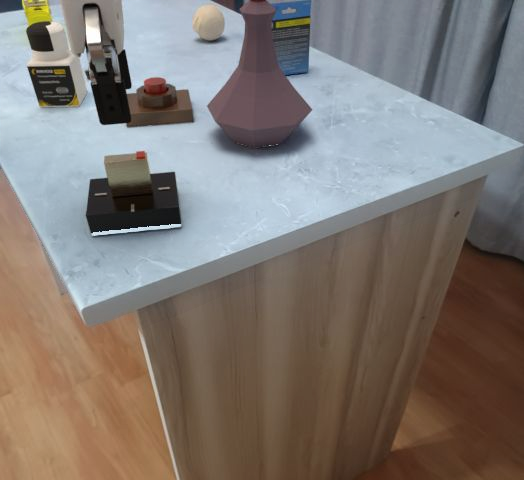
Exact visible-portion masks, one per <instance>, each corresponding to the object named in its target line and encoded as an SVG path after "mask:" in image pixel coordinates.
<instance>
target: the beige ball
mask: <svg viewBox="0 0 524 480" xmlns="http://www.w3.org/2000/svg"><path fill="white" fill-rule="evenodd" d="M191 24H192V29H193V31H194V32H195V33H196V34H197V35H198V36H199V37H200V38H201V39H203V40H204V41H205V40H206V41H215V40H218V39H219V38H220V37H221V36H222V35H223V33H224V31H225V27H226V22H225V16H224V14H223V12H222V10H221V9H220V8H219V7H218V6H215V5H213V4H204V5H201V6H200V7H199V8H198V9H197V10H196V12H195V13H194V14H193V17H192V22H191Z"/></svg>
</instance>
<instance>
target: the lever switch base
mask: <svg viewBox="0 0 524 480" xmlns="http://www.w3.org/2000/svg"><path fill="white" fill-rule="evenodd" d="M150 174H151V180H152V185H153V193H151V194H141V195H130V196H119V197H112V194H111V190H110V186H109V182H108V178H107V177H99V178H89V185H88V193H87V194H88V195H87V202H86V211H85V219H86V221H87V222H86V223H87V225H88V229H89V232H90V234H91V233H93V232H99V231H100V232H102V231H109V230H121V229H130V228H138V227H147V226H148V227H149V226H160V225H169V224H170V225H171V224H181V223H182V215H181V206H180V199H179V191H178V190H179V189H178V183H177V176H176V175H177V174H176V171H169V172H168V171H166V172H155V173H150ZM179 206H180V207H179Z"/></svg>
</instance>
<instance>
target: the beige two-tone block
mask: <svg viewBox="0 0 524 480" xmlns="http://www.w3.org/2000/svg"><path fill="white" fill-rule="evenodd" d="M103 165H104V169H105V173H106V178H108V182H109V186H110V190H111V194H112V197H119V196H130V195H141V194H151V193H153V185H152V180H151V174H152V173H151V169H150V168H151V167H150V163H149V158H148V152H146V151H145V150H139V151H136V152H134V153H133V152H132V153H123V154H122V153H121V154H112V155H111V154H110V155H109V154H108V155H104V159H103Z"/></svg>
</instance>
